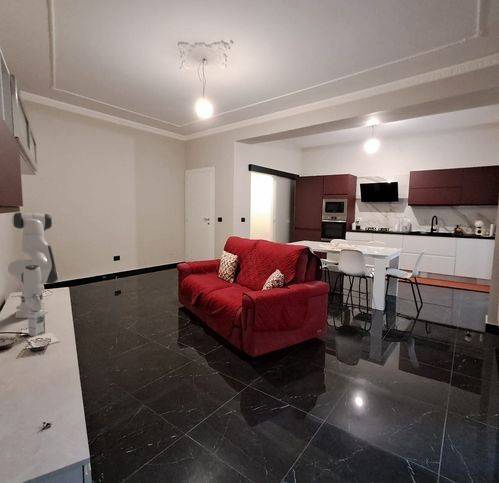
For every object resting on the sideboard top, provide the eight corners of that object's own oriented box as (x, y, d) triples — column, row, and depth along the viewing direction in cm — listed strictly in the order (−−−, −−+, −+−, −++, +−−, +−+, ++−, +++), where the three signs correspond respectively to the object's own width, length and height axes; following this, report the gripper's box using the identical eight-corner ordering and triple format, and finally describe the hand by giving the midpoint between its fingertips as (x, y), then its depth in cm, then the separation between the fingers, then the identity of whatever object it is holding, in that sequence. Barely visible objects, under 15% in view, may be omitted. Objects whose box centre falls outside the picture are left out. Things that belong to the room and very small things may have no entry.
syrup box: (36, 336, 170) (36, 312, 169) (28, 335, 171) (27, 311, 170) (45, 333, 176) (44, 309, 175) (37, 332, 177) (36, 308, 176)
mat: (26, 339, 166) (26, 338, 166) (50, 333, 176) (50, 332, 175) (34, 348, 156) (34, 347, 156) (59, 341, 165) (59, 340, 165)
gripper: (44, 294, 172) (44, 317, 173) (34, 288, 185) (34, 309, 186) (31, 296, 167) (31, 320, 168) (22, 290, 180) (22, 311, 181)
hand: (33, 314), depth 177 cm, fingers closed
